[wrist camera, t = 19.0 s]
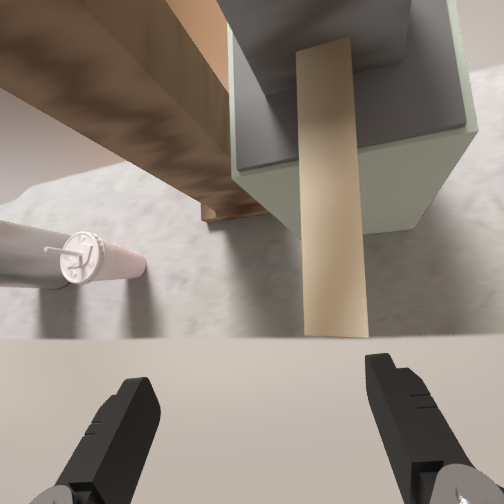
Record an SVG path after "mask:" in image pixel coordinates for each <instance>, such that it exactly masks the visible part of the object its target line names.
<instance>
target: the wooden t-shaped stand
mask: <svg viewBox="0 0 504 504" xmlns="http://www.w3.org/2000/svg"><path fill="white" fill-rule="evenodd" d="M0 88H2V89H4V90H6V91H7V92H9V93H11V94H13V95H14V96H16V97H18V98H20V99H21V100H23V101H25V102H27V103H28V104H30V105H32V106H33V107H35V108H37V109H39V110H41V111H42V112H44V113H46V114H48V115H49V116H51V117H53V118H54V119H56V120H58V121H60V122H61V123H63V124H65V125H66V126H68V127H70V128H72V129H73V130H75V131H77V132H79V133H80V134H82V135H84V136H86V137H87V138H89V139H91V140H93V141H94V142H96V143H98V144H99V145H101V146H103V147H105V148H107V149H108V150H110V151H112V152H113V153H115V154H117V155H119V156H120V157H122V158H124V159H126V160H127V161H129V162H131V163H132V164H134V165H136V166H138V167H139V168H141V169H143V170H145V171H146V172H148V173H150V174H152V175H153V176H155V177H157V178H159V179H160V180H162V181H164V182H166V183H167V184H169V185H171V186H172V187H174V188H176V189H178V190H179V191H181V192H183V193H185V194H186V195H188V196H190V197H192V198H193V199H195V200H197V201H199V202H200V203H201V220H202V221H204V222H206V223H208V222H215V221H222V220H229V219H236V218H243V217H250V216H257V215H264V214H271V213H270V212H269V211H268V210H267V209H265V208H264V207H263V206H262V205H261V204H260V203H259V202H258V201H256V200H255V199H254V198H253V197H252V196H251V195H250V194H248V193H247V192H246V191H245V190H244V189H243V188H242V187H241V186H239V185H238V184H237V183H236V182H235V181H234V180H233V179H232V177H231V141H230V105H229V94H228V92H227V91H226V89H225V88H224V86H223V85H222V83H221V82H220V81H219V79H218V78H217V76H216V75H215V73H214V72H213V70H212V69H211V67H210V66H209V64H208V63H207V62H206V60H205V58H204V57H203V55H202V54H201V53H200V51H199V50H198V48H197V47H196V45H195V44H194V42H193V41H192V39H191V38H190V37H189V35H188V33H187V32H186V30H185V29H184V27H183V26H182V25H181V23H180V22H179V20H178V19H177V17H176V16H175V14H174V13H173V11H172V10H171V8H170V7H169V5H168V4H167V2H166V1H165V0H0Z"/></svg>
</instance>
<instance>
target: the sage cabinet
mask: <svg viewBox="0 0 504 504" xmlns="http://www.w3.org/2000/svg"><path fill="white" fill-rule="evenodd" d="M227 32H228V68H229V105H230V141H231V177H232V179H233V180H234V181H235V182H236V183H237V184H238V185H239V186H241V187H242V188H243V189H244V190H245V191H246V192H247V193H248V194H250V195H251V196H252V197H253V198H254V199H255V200H256V201H258V202H259V203H260V204H261V205H262V206H263V207H264V208H265V209H267V210H268V211H269V212H270V213H271V214H272V215H273V216H274V217H276V218H277V219H278V220H279V221H280V222H281V223H282V224H284V225H285V226H286V227H287V228H288V229H289V230H290V231H291V232H293V233H294V234H295V235H296V236H297V237H298V238H299V239H301V207H300V174H299V141H298V108H297V88H294V89H290V90H286V91H282V92H278V93H274V94H270V95H266V96H265V95H264V93H263V91H262V89H261V87H260V85H259V83H258V81H257V79H256V77H255V75H254V73H253V71H252V69H251V67H250V66H249V64H248V62H247V60H246V58H245V56H244V54H243V52H242V50H241V48H240V46H239V44H238V42H237V40H236V38H235V36H234V34H233V32H232V30H231V28H230V26H229V24H228V22H227ZM353 89H354V105H355V121H356V137H357V153H358V169H359V185H360V201H361V217H362V233H363V235H365V234H374V233H384V232H393V231H403V230H412V229H414V228H415V226H416V225H417V223H418V222H419V220H420V219H421V217H422V216H423V214H424V213H425V211H426V210H427V208H428V207H429V205H430V204H431V202H432V200H433V199H434V197H435V196H436V194H437V193H438V191H439V190H440V188H441V187H442V185H443V184H444V182H445V181H446V179H447V178H448V176H449V175H450V173H451V172H452V170H453V169H454V167H455V166H456V164H457V163H458V161H459V160H460V158H461V157H462V155H463V154H464V152H465V151H466V149H467V147H468V146H469V144H470V143H471V141H472V140H473V138H474V137H475V135H476V134H477V132H478V131H479V130H478V125H477V119H476V113H475V108H474V102H473V96H472V91H471V85H470V79H469V74H468V68H467V62H466V57H465V51H464V46H463V40H462V34H461V28H460V23H459V18H458V11H457V6H456V0H412V1H411V8H410V15H409V21H408V28H407V35H406V42H405V49H404V55H403V61H402V62H398V63H394V64H390V65H386V66H382V67H378V68H374V69H370V70H366V71H362V72H358V73H354V74H353ZM301 240H302V239H301Z"/></svg>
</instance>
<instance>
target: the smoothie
mask: <svg viewBox="0 0 504 504" xmlns="http://www.w3.org/2000/svg"><path fill="white" fill-rule="evenodd" d="M44 251H45V252H50V253H57V254H61V257H60V267H61V271H62V274H63V276H64V277H65V278H66V279H67V280H68V281H69V282H71V283H74V284H82V285H84V284H88V283H90V282H92V281H103V280H116V279H129V278H138V277H140V276H141V275H142V274H143V273H144V271H145V268H146V260H145V258H144V256H143V255H141V254H139V253H137V252H134V251H131V250H129V249H126V248H124V247H121V246H118V245H116V244H113V243H111V242H108V241H106V240H103V239H100V238H99V237H98V236H97V235H96V234H93V233H88V232H78V233H76V234H74V235H72V236H71V237H70V238H69V239H68V240H67V242H66V243H65V245H64V247H63V249H58V248H52V247H45V248H44Z"/></svg>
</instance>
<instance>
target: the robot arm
mask: <svg viewBox="0 0 504 504" xmlns="http://www.w3.org/2000/svg"><path fill="white" fill-rule="evenodd" d="M69 238H70V236H68V235H66V234H61V233H57V232H52V231H47V230H43V229H38V228H34V227H29V226H24V225H20V224H15V223H10V222H6V221H1V220H0V287H19V288H47V289H58V288H61V287H63V286H65V285H66V284H67V283H68V282H69V281H68V280H67V279H66V278H65V277H64V276H63V274H62V271H61V267H60V257H61V254H57V253H50V252H45V251H44V248H45V247H52V248H58V249H63V247H64V245H65V243H66V242H67V240H68V239H69ZM365 369H366V370H365V372H366V390H367V396H368V400H369V404H370V407H371V410H372V413H373V415H374V418H375V421H376V424H377V427H378V429H379V433H380V436H381V438H382V441H383V444H384V447H385V450H386V452H387V456H388V458H389V461H390V464H391V467H392V470H393V473H394V475H395V478H396V481H397V484H398V487H399V490H400V493H401V495H402V498H403V501H404V504H504V488H503V487H500V486H499V485H497V484H495V483H494V482H493V481H492V480H491V479H490V478H489V477H488V476H486V475H485V474H483V473H482V472H480V471H479V470H477V469H476V468H475V467H474V466H473V465H472V463H471V462H470V460H469V459H468V457H467V456H466V454H465V453H464V451H463V449H462V447H461V446H460V444H459V442H458V440H457V439H456V437H455V435H454V433H453V432H452V430H451V428H450V427H449V425H448V423H447V422H446V420H445V418H444V416H443V415H442V413H441V411H440V410H439V409H438V406H437V404H436V403H435V401H434V399H433V398H432V397H431V395H430V392H429V391H428V389H427V387H426V385H425V384H424V382H423V380H422V379H421V378H420V377H419V376H417V375H416V374H415V373H414V372H413V371H412V370H410V369H409V368H396V367H395V364H394V362H393V360H392V358H391V356H390V355H389V354H388V353H382V354H371V355H366V356H365ZM160 415H161V409H160V405H159V402H158V399H157V397H156V395H155V392H154V390H153V388H152V385H151V383H150V381H149V379H148V378H147V377H141V378H131V379H126V380H125V381H124V382H123V383H122V385H121V387H120V389H119V391H118V392H117V394H116V395H112V396H111V397H110V398H109V399H108V400H107V401H106V402H105V403H104V404H103V405H102V406H101V407H100V408H99V410H98V412H97V413H96V415H95V417H94V418H93V420H92V424H91V425H89V427H88V429H87V431H86V432H85V436H84V437H82V439H81V441H80V442H79V444H78V446H77V448H76V449H75V451H74V453H73V455H72V456H71V458H70V460H69V461H68V463H67V465H66V467H65V468H64V470H63V472H62V473H61V475H60V477H59V479H58V480H57V482H56V484H55V485H54V486H53V487H51V488H49V489H47V490H45V491H44V492H42V493H41V494H39V495H38V496H37V497H36V498H35V499H34V500H33V501H32V502H31V503H30V504H130V503H131V500H132V498H133V495H134V492H135V489H136V486H137V484H138V480H139V478H140V475H141V472H142V470H143V467H144V464H145V461H146V458H147V456H148V453H149V450H150V447H151V445H152V442H153V439H154V436H155V433H156V430H157V428H158V425H159V422H160Z"/></svg>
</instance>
